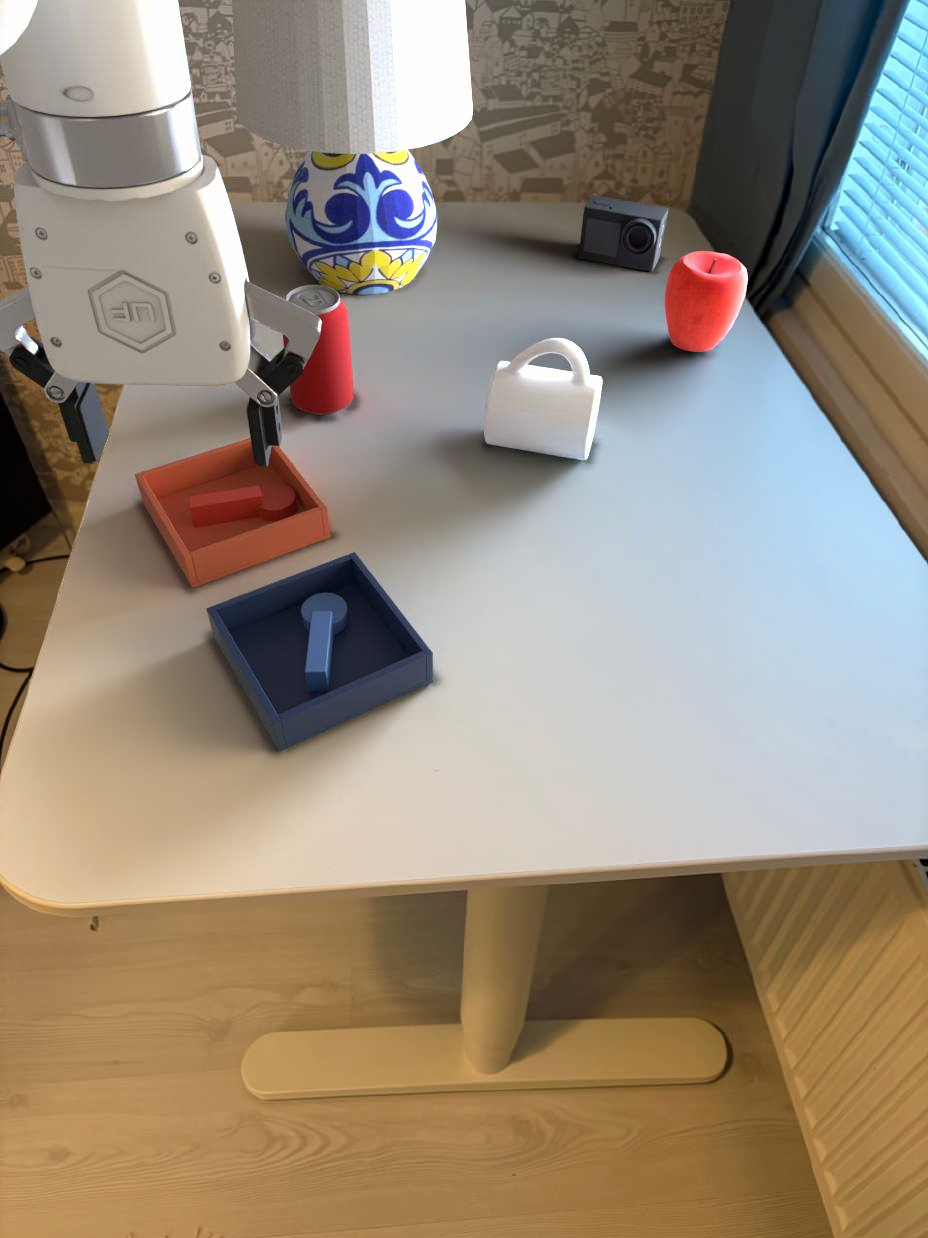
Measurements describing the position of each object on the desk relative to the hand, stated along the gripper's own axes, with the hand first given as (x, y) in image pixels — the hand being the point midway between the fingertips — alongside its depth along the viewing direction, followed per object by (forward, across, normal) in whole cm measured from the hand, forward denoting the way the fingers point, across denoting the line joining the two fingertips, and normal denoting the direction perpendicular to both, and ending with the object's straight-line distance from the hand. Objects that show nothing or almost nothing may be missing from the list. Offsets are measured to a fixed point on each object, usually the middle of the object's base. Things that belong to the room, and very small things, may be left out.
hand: (181, 451), depth 53 cm
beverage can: (+23, +3, +41) cm, 48 cm away
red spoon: (+23, -2, +22) cm, 32 cm away
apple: (+22, +46, +53) cm, 74 cm away
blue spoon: (+23, +6, +6) cm, 25 cm away
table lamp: (+23, +6, +72) cm, 76 cm away
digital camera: (+22, +40, +75) cm, 88 cm away
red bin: (+24, -3, +22) cm, 32 cm away
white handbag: (+23, +26, +34) cm, 49 cm away
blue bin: (+24, +6, +5) cm, 25 cm away
